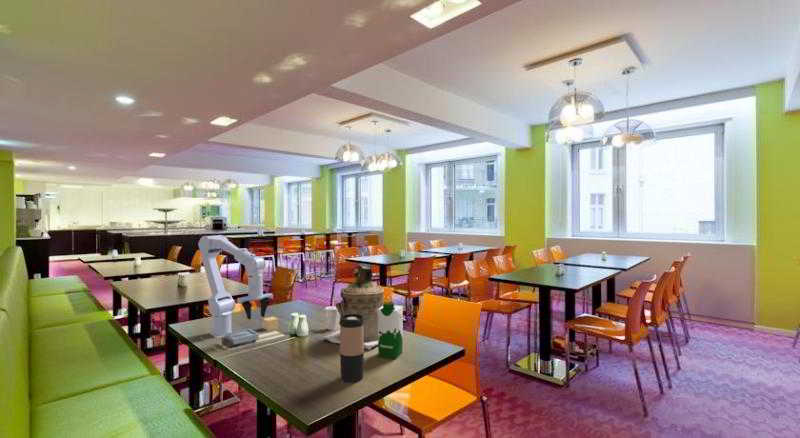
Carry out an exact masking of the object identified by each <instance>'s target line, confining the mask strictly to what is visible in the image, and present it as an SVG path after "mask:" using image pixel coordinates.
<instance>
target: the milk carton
mask: <svg viewBox="0 0 800 438" xmlns="http://www.w3.org/2000/svg"><path fill="white" fill-rule="evenodd" d="M377 310H378V345H377V346H378V348H377V349H378V357H380V358H385V357H386V359H392V358H394V360H397V359H396V358H398V357H400V355H401V354H403V344H404V343H403V341H404V340H403V338H404V337H403V335H404V333H403V332H404V331H403V330H404V328H403V326H404V325H403V320H404V318H403V314H404V305H403V306H402V305H395V303H394V302H392V301H385V302H383V306H381V307H380V308H379V309H377Z"/></svg>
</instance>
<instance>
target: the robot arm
mask: <svg viewBox="0 0 800 438" xmlns="http://www.w3.org/2000/svg"><path fill="white" fill-rule="evenodd" d="M197 244H198V249H199V252H200V255H201V256H200V257H201V261H202V265H203V267H204V272H205V274H206V278H207V282H208V286H209V289H210V293H211V296H210V297H209V298H208V300H207V302H208V311H209V314H210V315H211V319H210V320H211V322H210V323H211V324H210V326H211V330H210V332H209V333H208V334H209V335H211V336H213V337H214V338H216V339H218V338H224V337H225V333H230V332H233V331H232V314H233V311H234V310H235V309H236V308H235V307H236V302H235V299H233V297H232V293H229V292H228V291H226V289H225V285H224V281H223V278H222V275H221V272H220V267H219V266H218V265H219V264H218V261H217V256H218V255H219V254H220V253H221V252H222V250H223V251H225V252H227V253H229V254H231V255H233V257H234V260H235V261H237V262H238V263H240V264H241V265H243V266H244V269H245V270H246V273H247V274H246V275H247V276H248V278H247V279H248V283H247V285H248V286H247V287H248V293H247V294H248V295H247V296H242V297H238V298H237V303H238V304H239V305H240V304H241V305H242V307H243V309H244V311H245V314H246V319H248V320H251V319H252V305H253V304H252V303H251V302H256V301H259V304H260V305H259V306H260V317H262V318H265V315H266V311H267V309H268V305H269V304H270V302H271V301H270V299H274V294H273V293H272V292H271V293H269V292H268V293H264V290H263V289H264V284H263V283H264V281H263V280H264V275H263V274H264V273H263V271H264V269H265V267H266V265H267V264H266V259H265V258H264V257H263V256H262V255H258V256H257V255H256V254H255V253H252V252H250V251H249V250H248V248H246V247H245V248H244V247H243V248H239V247H237V246H236V245H235V244H233V242H231V241H229V240H228V237H227V236H225V235H222V234H217V235H203V236H201V238H200V239H199V240H198V243H197Z"/></svg>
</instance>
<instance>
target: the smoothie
mask: <svg viewBox="0 0 800 438" xmlns="http://www.w3.org/2000/svg"><path fill="white" fill-rule="evenodd" d="M324 311H325V315H326V323H327V330H330V331H335V330H337V325H338V316H339V312H338V310H337V308H336V305H335V298H332V305H331V306H326V307H325V309H324Z"/></svg>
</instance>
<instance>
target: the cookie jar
mask: <svg viewBox="0 0 800 438" xmlns="http://www.w3.org/2000/svg"><path fill="white" fill-rule="evenodd" d="M352 276H353V277H355V279H354V280H353V282H351V283H349V284H348V285H347V286H346V287H342V288H341V290H340V297H341V300H340V302H336V303H335V306H336V308H337V310H338V315H339V316H340V317H341V316H343V315H347V314H359V315H362V316H363V333H364V349H366V350H369V351H371V350H372V348H375V347H376V346H378V310H377V309H379V308H380V307H381V306H383V303H384V295H385V289H384V288H383V287H377V286H376V285H374V284H373V282H372V281H373V270H372V268H370V267H369V266H365V265H361V264H358V265H357V266H356V269H353V274H352ZM340 317H339V318H340ZM338 324H339V326H340V320H339V322H338ZM322 338H323V339H324V340H327V341H329V342H330V343H333V344H339V345H340V329H339V330H337V331H335V332H333V333H330V334H328V335H324V336H322Z"/></svg>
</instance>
